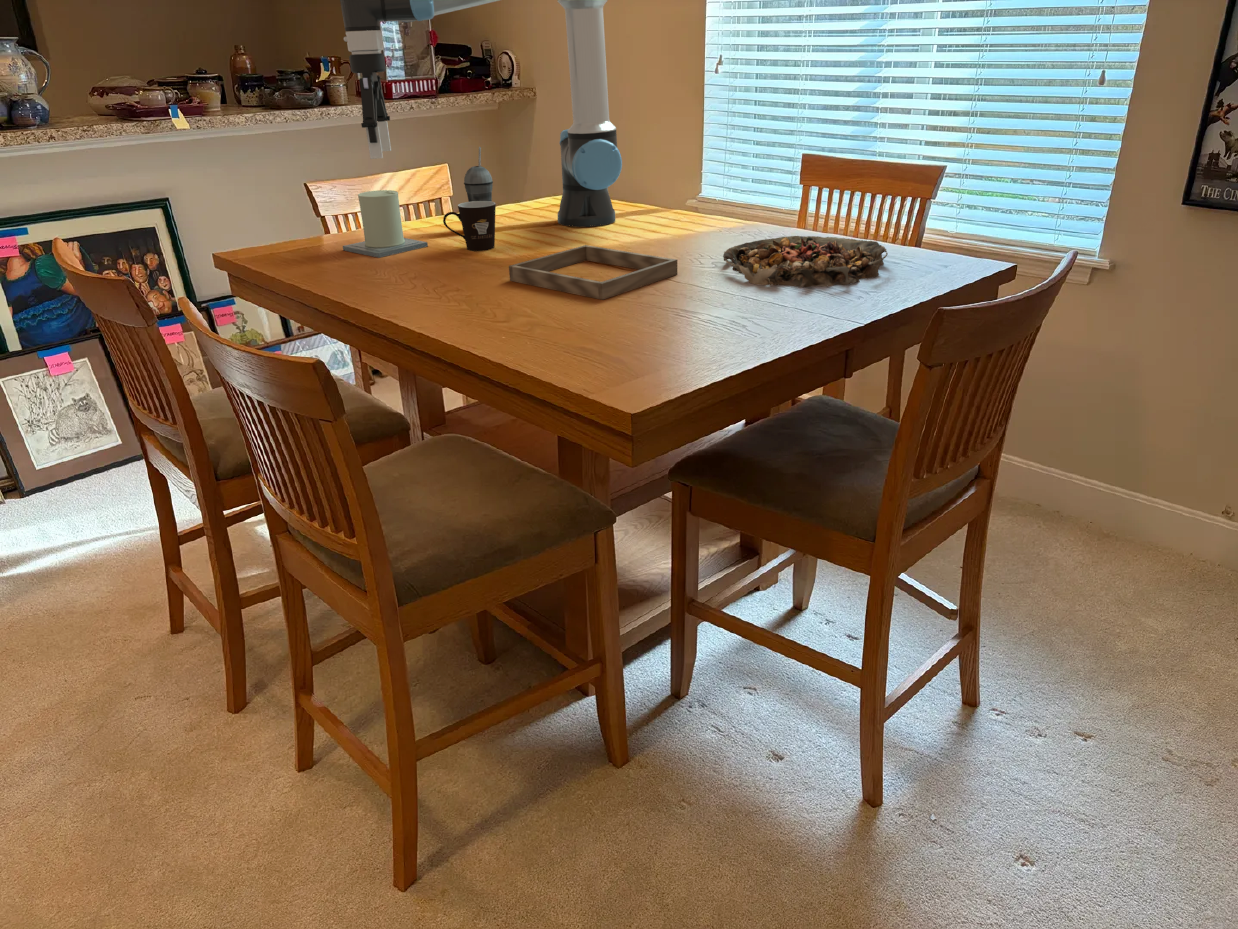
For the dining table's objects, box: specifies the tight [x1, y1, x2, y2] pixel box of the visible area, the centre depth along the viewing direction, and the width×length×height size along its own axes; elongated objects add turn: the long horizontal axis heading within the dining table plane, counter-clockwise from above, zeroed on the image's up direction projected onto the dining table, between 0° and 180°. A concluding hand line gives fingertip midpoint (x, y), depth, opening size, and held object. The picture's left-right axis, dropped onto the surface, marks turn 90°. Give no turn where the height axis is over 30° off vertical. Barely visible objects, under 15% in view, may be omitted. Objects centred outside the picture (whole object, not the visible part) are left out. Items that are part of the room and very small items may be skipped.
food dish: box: [722, 235, 888, 289], centre depth 184 cm, size 35×33×8 cm
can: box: [357, 189, 405, 248], centre depth 210 cm, size 9×9×12 cm
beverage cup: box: [463, 146, 494, 202], centre depth 226 cm, size 7×7×20 cm
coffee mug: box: [442, 201, 496, 252], centre depth 208 cm, size 12×9×10 cm
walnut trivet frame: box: [508, 244, 678, 300], centre depth 182 cm, size 25×23×3 cm
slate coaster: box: [342, 237, 428, 259], centre depth 213 cm, size 14×14×1 cm
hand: (381, 154), depth 206 cm, fingers open, 13 cm apart
